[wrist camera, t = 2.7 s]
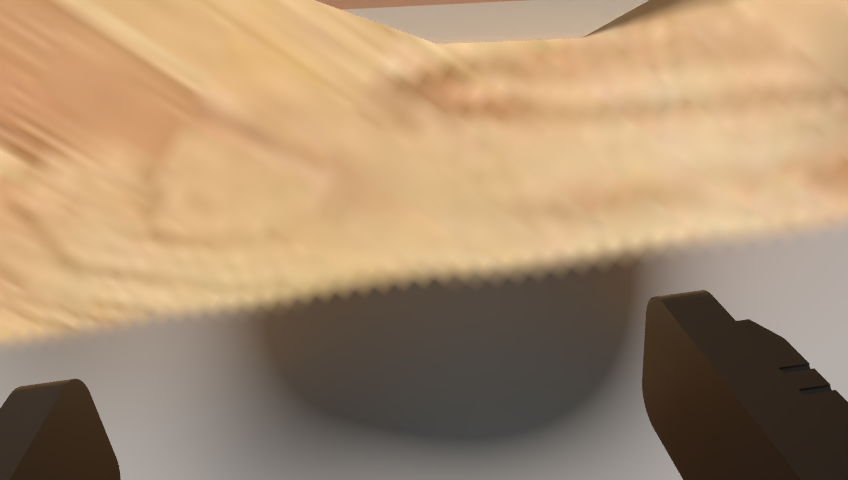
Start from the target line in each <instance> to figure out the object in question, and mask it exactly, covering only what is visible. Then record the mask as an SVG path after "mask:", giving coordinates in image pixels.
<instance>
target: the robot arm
mask: <svg viewBox="0 0 848 480" xmlns="http://www.w3.org/2000/svg"><path fill="white" fill-rule="evenodd" d="M642 390H643V398H644V403H645V407H646V411H647V414H648V417H649V419H650V422H651V424H652V426H653V428H654V430H655V431H656V433H657V435H658V437H659V438H660V440H661V442H662V444H663V445H664V447H665V449H666V450H667V452H668V454H669V456H670V457H671V459H672V461H673V462H674V464H675V466H676V468H677V470H678V471H679V473H680V475H681V476H682V478H683V480H848V402H847V401H846V400H845V399H844V398H843V397H842V396H841V395H840V394H839V393H838V392H837V391H836V390H833V391H832V390H831V388H830V384H829V383H828V382H827V381H826V380H825V379H824V378H823V377H822V376H821V375H820V374H819V373H818V372H817V371H816V370H815V369H810V367H809V363H808V362H807V361H806V360H805V359H804V358H803V357H802V356H801V355H800V354H799V353H798V352H797V351H796V350H795V349H794V348H793V347H792V346H791V345H790V344H789V343H788V342H787V341H786V340H785V339H784V338H782V337H781V336H779V335H777V334H775V333H773V332H772V331H770V330H768V329H766V328H764V327H762V326H760V325H759V324H757V323H755V322H753V321H751V320H741V321H735V320H734V318H733V317H732V316H731V315H730V314H729V313H728V312H727V311H726V310H725V309H724V308H723V307H722V306H721V304H720V303H719V302H718V301H717V300H716V299H715V298H714V297H713V296H712V295H711V294H710V293H709V292H707V291H705V290H701V291H693V292H686V293H679V294H671V295H664V296H657V297H652V298H651V299H650V300H649V302H648V305H647V311H646V325H645V341H644V358H643V378H642ZM0 480H120V470H119V465H118V461H117V459H116V456H115V454H114V451H113V449H112V446H111V444H110V441H109V439H108V436H107V434H106V432H105V429H104V426H103V424H102V421H101V419H100V417H99V414H98V412H97V409H96V407H95V404H94V402H93V400H92V397H91V395H90V392H89V390H88V388H87V387H86V385H85V384H84V383H83V382H82V381H81V380H79V379H71V380H64V381H56V382H49V383H42V384H35V385H28V386H21V387H18V388H16V389H15V390H14V391H13V392H12V393H11V394H10V395H9V397H8V398H7V400H6V401H5V403H4V404H3V405H2V407H1V408H0Z"/></svg>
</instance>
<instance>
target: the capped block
mask: <svg viewBox="0 0 848 480" xmlns="http://www.w3.org/2000/svg"><path fill="white" fill-rule="evenodd" d="M316 1H319V2H321V3H324V4H327V5H330V6H333V7H335V8H338V9H341V10H344V11H347V12H349V13H352V14H355V15H358V16H361V17H363V18H366V19H369V20H372V21H375V22H377V23H380V24H383V25H386V26H389V27H391V28H394V29H397V30H400V31H403V32H405V33H408V34H411V35H414V36H417V37H419V38H422V39H425V40H428V41H431V42H433V43H436V44H446V43H470V42H494V41H518V40H542V39H567V38H582V37H584V36H586V35H588V34H590V33H591V32H593V31H595V30H597V29H599V28H600V27H602V26H604V25H606V24H607V23H609V22H611V21H613V20H615V19H616V18H618V17H620V16H622V15H624V14H625V13H627V12H629V11H631V10H633V9H634V8H636V7H638V6H640V5H641V4H643V3H645V2H647V1H649V0H316Z"/></svg>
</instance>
